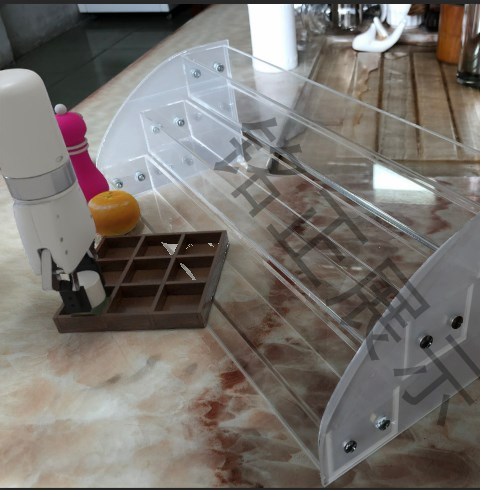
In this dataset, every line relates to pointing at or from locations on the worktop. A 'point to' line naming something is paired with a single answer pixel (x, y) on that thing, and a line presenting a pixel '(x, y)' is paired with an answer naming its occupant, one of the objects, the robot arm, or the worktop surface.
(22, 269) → the worktop surface
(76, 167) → the pink pepper grinder
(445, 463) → the worktop surface
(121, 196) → the fruit
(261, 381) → the worktop surface
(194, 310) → the board
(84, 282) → the white cylinder puck
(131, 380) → the worktop surface
